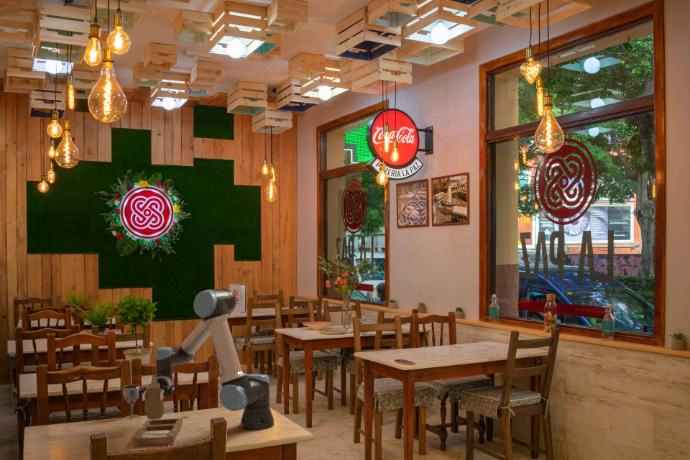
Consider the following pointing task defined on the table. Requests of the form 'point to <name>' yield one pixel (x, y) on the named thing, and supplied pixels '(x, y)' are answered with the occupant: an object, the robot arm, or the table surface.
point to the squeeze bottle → (154, 400)
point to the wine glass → (131, 397)
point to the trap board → (158, 432)
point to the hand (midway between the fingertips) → (152, 396)
